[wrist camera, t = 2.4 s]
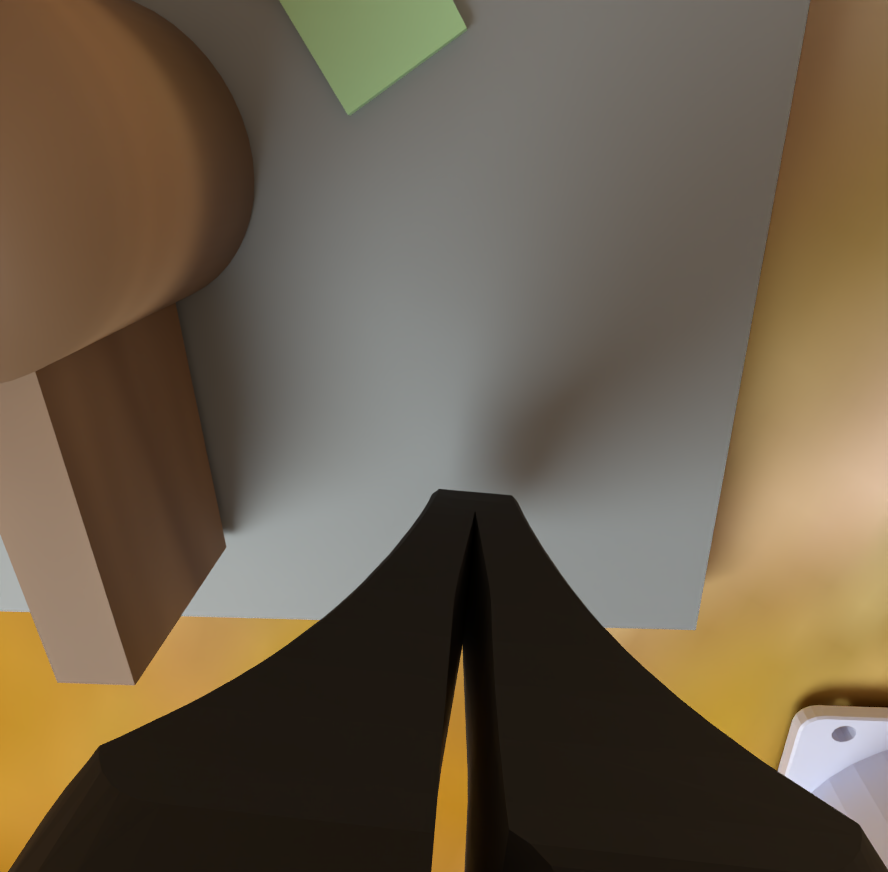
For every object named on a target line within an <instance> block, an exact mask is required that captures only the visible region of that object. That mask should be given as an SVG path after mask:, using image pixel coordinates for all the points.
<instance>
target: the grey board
mask: <svg viewBox="0 0 888 872" xmlns="http://www.w3.org/2000/svg"><path fill="white" fill-rule="evenodd" d="M132 1H134V2H136V3H138V4H140V5H142V6H144V7H146V8H148V9H150V10H152V11H154V12H156V13H157V14H159V15H160V16H162V17H163V18H165V19H166V20H168V21H169V22H171V23H172V24H174V25H175V26H176V27H177V28H178V29H179V30H180V31H182V32H183V33H184V34H185V35H186V36H187V37H189V38H190V39H191V40H192V41H193V42H194V43H195V44H196V46H197V47H198V48H199V49H200V50H201V51H202V52H203V53H204V54H205V55H206V56H207V58H208V59H209V60H210V62H211V63H212V64H213V66H214V67H215V69H216V70H217V71H218V73H219V74H220V75H221V77H222V79H223V80H224V82H225V84H226V86H227V87H228V89H229V91H230V92H231V94H232V96H233V98H234V100H235V103H236V105H237V107H238V109H239V112H240V114H241V116H242V119H243V122H244V125H245V129H246V132H247V135H248V138H249V143H250V148H251V153H252V158H253V169H254V200H253V206H252V212H251V218H250V221H249V224H248V228H247V231H246V234H245V237H244V239H243V241H242V243H241V245H240V247H239V249H238V251H237V253H236V254H235V256H234V257H233V259H232V260H231V262H230V263H229V265H228V266H227V267H226V268H225V269H224V270H223V271H222V273H221V274H220V275H219V276H218V277H217V278H215V279H214V280H213V281H212V282H211V283H209V284H208V285H207V286H206V287H204V288H202V289H200V290H199V291H197V292H195V293H194V294H192V295H190V296H188V297H186V298H184V299H182V300H180V301H178V302H176V308H177V312H178V317H179V322H180V327H181V331H182V336H183V341H184V346H185V351H186V355H187V360H188V365H189V370H190V375H191V379H192V384H193V389H194V394H195V399H196V403H197V408H198V413H199V418H200V423H201V427H202V432H203V437H204V442H205V446H206V451H207V456H208V461H209V466H210V470H211V475H212V480H213V485H214V490H215V494H216V499H217V504H218V509H219V514H220V518H221V523H222V528H223V533H224V538H225V542H226V549H225V550H224V552H223V553H222V555H221V556H220V558H219V559H218V561H217V562H216V564H215V565H214V567H213V568H212V570H211V571H210V573H209V574H208V576H207V577H206V579H205V580H204V582H203V583H202V585H201V586H200V588H199V589H198V591H197V592H196V594H195V596H194V597H193V599H192V600H191V602H190V603H189V605H188V606H187V608H186V609H185V611H184V612H183V614H182V615H181V616H198V617H235V618H272V619H309V620H321V619H322V618H323V617H325V616H326V615H327V614H328V613H329V612H330V611H332V610H333V609H334V608H335V607H336V606H338V605H339V604H340V603H341V602H342V601H343V600H344V599H345V598H347V597H348V596H349V595H350V594H351V593H352V592H353V591H354V590H355V589H356V588H357V587H358V586H359V585H360V584H361V583H362V582H363V581H364V580H365V579H366V578H367V577H368V576H369V575H370V574H371V573H372V572H373V571H374V570H375V569H376V568H377V567H378V566H379V565H380V563H381V562H382V561H383V560H384V559H385V558H386V557H387V556H388V555H389V554H390V553H391V551H392V550H393V549H394V548H395V547H396V545H397V544H398V543H399V542H400V540H401V539H402V538H403V537H404V535H405V534H406V533H407V532H408V531H409V529H410V528H411V527H412V525H413V524H414V522H415V521H416V520H417V518H418V517H419V515H420V514H421V512H422V511H423V509H424V508H425V506H426V505H427V503H428V501H429V499H430V497H431V495H432V494H433V493H434V492H436V491H437V490H438V489H447V490H458V491H470V492H481V493H493V494H504V495H512V496H513V497H514V498H515V499H516V500H517V502H518V504H519V506H520V508H521V510H522V512H523V514H524V516H525V518H526V520H527V521H528V523H529V525H530V527H531V528H532V530H533V532H534V533H535V535H536V537H537V539H538V540H539V542H540V543H541V545H542V547H543V548H544V550H545V551H546V553H547V554H548V556H549V557H550V559H551V560H552V562H553V563H554V564H555V566H556V567H557V569H558V570H559V572H560V573H561V575H562V576H563V577H564V579H565V580H566V581H567V583H568V584H569V586H570V587H571V588H572V590H573V591H574V592H575V593H576V595H577V596H578V597H579V598H580V600H581V601H582V602H583V603H584V605H585V606H586V607H587V608H588V610H589V611H590V612H591V613H592V614H593V616H594V617H595V618H596V619H597V620H598V621H599V622H600V624H601V625H602V626H603V627H605V628H642V629H679V630H696V625H697V619H698V614H699V608H700V603H701V597H702V592H703V586H704V581H705V575H706V570H707V564H708V559H709V553H710V548H711V542H712V537H713V531H714V526H715V520H716V515H717V509H718V504H719V498H720V493H721V487H722V482H723V477H724V471H725V466H726V460H727V455H728V449H729V444H730V438H731V433H732V427H733V422H734V416H735V411H736V405H737V400H738V394H739V389H740V383H741V378H742V372H743V367H744V361H745V356H746V350H747V345H748V339H749V334H750V329H751V323H752V318H753V312H754V307H755V301H756V296H757V290H758V285H759V279H760V274H761V268H762V263H763V257H764V252H765V246H766V241H767V235H768V230H769V224H770V219H771V213H772V208H773V202H774V197H775V191H776V186H777V181H778V175H779V170H780V164H781V159H782V153H783V148H784V142H785V137H786V131H787V126H788V120H789V115H790V109H791V104H792V98H793V93H794V87H795V82H796V76H797V71H798V65H799V60H800V54H801V49H802V44H803V38H804V33H805V27H806V22H807V16H808V11H809V5H810V0H453V2H454V4H455V6H456V8H457V10H458V12H459V14H460V15H461V17H462V19H463V21H464V23H465V25H466V27H467V31H466V32H464V33H463V34H461V35H460V36H459V37H457V38H456V39H455V40H453V41H452V42H450V43H449V44H448V45H446V46H445V47H444V48H442V49H441V50H440V51H438V52H437V53H435V54H434V55H433V56H431V57H430V58H429V59H427V60H426V61H425V62H423V63H422V64H420V65H419V66H418V67H416V68H415V69H414V70H412V71H411V72H409V73H408V74H407V75H405V76H404V77H403V78H401V79H400V80H399V81H397V82H396V83H394V84H393V85H392V86H390V87H389V88H388V89H386V90H385V91H383V92H382V93H381V94H379V95H378V96H377V97H375V98H374V99H373V100H371V101H370V102H368V103H367V104H366V105H364V106H363V107H362V108H360V109H359V110H357V111H356V112H355V113H353V114H352V115H348V114H347V113H346V111H345V109H344V108H343V106H342V104H341V103H340V101H339V99H338V98H337V96H336V94H335V93H334V91H333V89H332V88H331V86H330V84H329V83H328V81H327V79H326V78H325V76H324V74H323V73H322V71H321V69H320V68H319V66H318V64H317V63H316V61H315V59H314V58H313V56H312V54H311V53H310V51H309V49H308V48H307V46H306V44H305V43H304V41H303V39H302V38H301V36H300V34H299V33H298V31H297V29H296V28H295V26H294V24H293V23H292V21H291V19H290V18H289V16H288V14H287V13H286V11H285V9H284V8H283V6H282V4H281V3H280V1H279V0H132ZM0 611H13V612H30V610H29V608H28V605H27V602H26V600H25V597H24V595H23V592H22V589H21V587H20V584H19V582H18V579H17V577H16V574H15V571H14V569H13V566H12V564H11V561H10V559H9V556H8V553H7V551H6V548H5V546H4V543H3V540H2V538H1V535H0Z"/></svg>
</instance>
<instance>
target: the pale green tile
mask: <svg viewBox="0 0 888 872" xmlns="http://www.w3.org/2000/svg"><path fill="white" fill-rule="evenodd" d="M279 1H280V3H281V4H282V6H283V8H284V9H285V11H286V13H287V14H288V16H289V18H290V19H291V21H292V23H293V24H294V26H295V28H296V29H297V31H298V33H299V34H300V36H301V38H302V39H303V41H304V43H305V44H306V46H307V48H308V49H309V51H310V53H311V54H312V56H313V58H314V59H315V61H316V63H317V64H318V66H319V68H320V69H321V71H322V73H323V74H324V76H325V78H326V79H327V81H328V83H329V84H330V86H331V88H332V89H333V91H334V93H335V94H336V96H337V98H338V99H339V101H340V103H341V104H342V106H343V108H344V109H345V111H346V113H347V114H348V115H352V114H353V113H355V112H356V111H357V110H359V109H360V108H362V107H363V106H364V105H366V104H367V103H368V102H370V101H371V100H373V99H374V98H375V97H377V96H378V95H379V94H381V93H382V92H383V91H385V90H386V89H388V88H389V87H390V86H392V85H393V84H394V83H396V82H397V81H399V80H400V79H401V78H403V77H404V76H405V75H407V74H408V73H409V72H411V71H412V70H414V69H415V68H416V67H418V66H419V65H420V64H422V63H423V62H425V61H426V60H427V59H429V58H430V57H431V56H433V55H434V54H435V53H437V52H438V51H440V50H441V49H442V48H444V47H445V46H446V45H448V44H449V43H450V42H452V41H453V40H455V39H456V38H457V37H459V36H460V35H461V34H463V33H464V32H466V31H467V27H466V25H465V23H464V21H463V19H462V17H461V15H460V14H459V12H458V10H457V8H456V6H455V4H454V2H453V0H279Z"/></svg>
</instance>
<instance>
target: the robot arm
mask: <svg viewBox="0 0 888 872" xmlns="http://www.w3.org/2000/svg"><path fill="white" fill-rule="evenodd" d="M462 644H463V668H464V693H465V717H466V740H467V764H468V810H467V831H466V852H465V872H888V708H886V707H857V706H829V705H813V706H808V707H805V708H803V709H801V710H800V711H799V712H797V713H796V715H795V716H794V718H793V720H792V723H791V726H790V730H789V733H788V737H787V740H786V744H785V747H784V751H783V754H782V758H781V761H780V765H779V768H778V771H776V770H775V769H773V768H772V767H770V766H769V765H767V764H766V763H764V762H763V761H761V760H760V759H758V758H757V757H756V756H754V755H753V754H751V753H750V752H749V751H747V750H746V749H745V748H743V747H742V746H741V745H739V744H738V743H737V742H735V741H734V740H733V739H731V738H730V737H728V736H727V735H726V734H724V733H723V732H722V731H720V730H719V729H718V728H716V727H715V726H714V725H712V724H711V723H710V722H708V721H707V720H706V719H704V718H703V717H702V716H701V715H699V714H698V713H697V712H696V711H694V710H693V709H692V708H691V707H689V706H688V705H687V704H686V703H684V702H683V701H682V700H681V699H680V698H678V697H677V696H676V695H675V694H674V693H673V692H671V691H670V690H669V689H668V688H667V687H666V686H665V685H663V684H662V683H661V682H660V681H659V680H658V679H657V678H655V677H654V676H653V675H652V674H651V673H650V672H649V671H647V670H646V669H645V668H644V667H643V666H642V665H641V664H640V663H639V662H638V661H637V660H636V659H635V658H633V657H632V656H631V655H630V654H629V653H628V652H627V651H626V650H625V649H624V648H623V647H622V646H621V645H620V644H619V643H618V642H617V641H616V639H615V638H614V637H613V636H612V635H611V634H610V633H609V632H608V631H607V630H606V629H605V628H604V627H603V626H602V625H601V624H600V622H599V621H598V620H597V619H596V618H595V617H594V616H593V614H592V613H591V612H590V611H589V610H588V608H587V607H586V606H585V605H584V603H583V602H582V601H581V600H580V598H579V597H578V596H577V595H576V593H575V592H574V591H573V590H572V588H571V587H570V586H569V584H568V583H567V581H566V580H565V579H564V577H563V576H562V575H561V573H560V572H559V570H558V569H557V567H556V566H555V564H554V563H553V562H552V560H551V559H550V557H549V556H548V554H547V553H546V551H545V550H544V548H543V547H542V545H541V543H540V542H539V540H538V539H537V537H536V535H535V533H534V532H533V530H532V528H531V527H530V525H529V523H528V521H527V520H526V518H525V516H524V514H523V512H522V510H521V508H520V506H519V504H518V502H517V500H516V499H515V498H514V497H513V496H512V495H504V494H493V493H481V492H470V491H458V490H447V489H438V490H437V491H436V492H434V493H433V494H432V495H431V497H430V499H429V501H428V503H427V505H426V506H425V508H424V509H423V511H422V512H421V514H420V515H419V517H418V518H417V520H416V521H415V522H414V524H413V525H412V527H411V528H410V529H409V531H408V532H407V533H406V534H405V535H404V537H403V538H402V539H401V540H400V542H399V543H398V544H397V545H396V547H395V548H394V549H393V550H392V551H391V553H390V554H389V555H388V556H387V557H386V558H385V559H384V560H383V561H382V562H381V563H380V565H379V566H378V567H377V568H376V569H375V570H374V571H373V572H372V573H371V574H370V575H369V576H368V577H367V578H366V579H365V580H364V581H363V582H362V583H361V584H360V585H359V586H358V587H357V588H356V589H355V590H354V591H353V592H352V593H351V594H350V595H349V596H348V597H347V598H345V599H344V600H343V601H342V602H341V603H340V604H339V605H338V606H336V607H335V608H334V609H333V610H332V611H330V612H329V613H328V614H327V615H326V616H325V617H323V618H322V619H321V620H320V621H318V622H317V623H316V624H314V625H313V626H312V627H310V628H309V629H308V630H306V631H305V632H304V633H302V634H301V635H300V636H298V637H297V638H296V639H294V640H293V641H292V642H291V643H289V644H288V645H286V646H285V647H284V648H282V649H281V650H279V651H278V652H276V653H275V654H273V655H272V656H270V657H269V658H267V659H266V660H264V661H263V662H261V663H260V664H258V665H256V666H255V667H253V668H251V669H250V670H248V671H246V672H245V673H243V674H241V675H240V676H238V677H237V678H235V679H233V680H231V681H230V682H228V683H226V684H224V685H222V686H221V687H219V688H217V689H215V690H214V691H212V692H210V693H208V694H206V695H205V696H203V697H201V698H199V699H197V700H195V701H193V702H191V703H189V704H187V705H185V706H183V707H181V708H179V709H177V710H175V711H173V712H171V713H169V714H167V715H165V716H162V717H160V718H158V719H156V720H154V721H152V722H150V723H148V724H146V725H144V726H142V727H140V728H137V729H135V730H133V731H131V732H129V733H127V734H125V735H123V736H121V737H119V738H116V739H114V740H112V741H109V742H107V743H105V744H103V745H100V746H99V747H98V748H97V750H96V751H95V752H94V754H93V755H92V757H91V758H90V759H89V761H88V762H87V763H86V764H85V765H84V767H83V768H82V769H81V770H80V771H79V773H78V774H77V775H76V776H75V777H74V779H73V780H72V781H71V782H70V783H69V785H68V786H67V787H66V788H65V790H64V791H63V792H62V794H61V795H60V796H59V798H58V799H57V800H56V802H55V803H54V805H53V806H52V807H51V809H50V810H49V811H48V813H47V814H46V816H45V817H44V819H43V820H42V822H41V823H40V825H39V826H38V828H37V829H36V831H35V832H34V834H33V835H32V837H31V838H30V840H29V841H28V843H27V844H26V846H25V847H24V849H23V850H22V852H21V853H20V855H19V856H18V858H17V859H16V861H15V862H14V864H13V865H12V867H11V868H10V870H9V871H8V872H431V867H432V855H433V843H434V831H435V819H436V807H437V796H438V789H439V781H440V774H441V767H442V761H443V755H444V749H445V743H446V737H447V732H448V726H449V720H450V714H451V708H452V703H453V697H454V691H455V685H456V679H457V673H458V668H459V662H460V656H461V650H462Z"/></svg>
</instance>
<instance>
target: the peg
mask: <svg viewBox="0 0 888 872" xmlns="http://www.w3.org/2000/svg"><path fill="white" fill-rule="evenodd" d="M253 200H254V169H253V158H252V153H251V148H250V143H249V138H248V135H247V132H246V129H245V125H244V122H243V119H242V116H241V114H240V112H239V109H238V107H237V105H236V103H235V100H234V98H233V96H232V94H231V92H230V91H229V89H228V87H227V86H226V84H225V82H224V80H223V79H222V77H221V75H220V74H219V73H218V71H217V70H216V69H215V67H214V66H213V64H212V63H211V62H210V60H209V59H208V58H207V56H206V55H205V54H204V53H203V52H202V51H201V50H200V49H199V48H198V47H197V46H196V44H195V43H194V42H193V41H192V40H191V39H190V38H189V37H187V36H186V35H185V34H184V33H183V32H182V31H180V30H179V29H178V28H177V27H176V26H175V25H174V24H172V23H171V22H169V21H168V20H166V19H165V18H163V17H162V16H160V15H159V14H157V13H156V12H154V11H152V10H150V9H148V8H146V7H144V6H142V5H140V4H138V3H136V2H134V1H132V0H0V535H1V538H2V540H3V543H4V546H5V548H6V551H7V553H8V556H9V559H10V561H11V564H12V566H13V569H14V571H15V574H16V577H17V579H18V582H19V584H20V587H21V589H22V592H23V595H24V597H25V600H26V602H27V605H28V608H29V610H30V613H31V615H32V618H33V620H34V623H35V626H36V628H37V631H38V633H39V636H40V638H41V641H42V644H43V646H44V649H45V651H46V654H47V657H48V659H49V662H50V664H51V667H52V669H53V672H54V675H55V677H56V680H57V682H58V683H85V684H113V685H135V684H136V683H137V681H138V680H139V678H140V677H141V675H142V674H143V672H144V671H145V669H146V668H147V666H148V665H149V663H150V662H151V660H152V659H153V657H154V656H155V654H156V653H157V651H158V650H159V648H160V647H161V645H162V644H163V642H164V641H165V639H166V638H167V636H168V635H169V633H170V632H171V630H172V629H173V627H174V626H175V624H176V623H177V621H178V620H179V618H180V617H181V615H182V614H183V612H184V611H185V609H186V608H187V606H188V605H189V603H190V602H191V600H192V599H193V597H194V596H195V594H196V592H197V591H198V589H199V588H200V586H201V585H202V583H203V582H204V580H205V579H206V577H207V576H208V574H209V573H210V571H211V570H212V568H213V567H214V565H215V564H216V562H217V561H218V559H219V558H220V556H221V555H222V553H223V552H224V550H225V549H226V542H225V538H224V533H223V528H222V523H221V518H220V514H219V509H218V504H217V499H216V494H215V490H214V485H213V480H212V475H211V470H210V466H209V461H208V456H207V451H206V446H205V442H204V437H203V432H202V427H201V423H200V418H199V413H198V408H197V403H196V399H195V394H194V389H193V384H192V379H191V375H190V370H189V365H188V360H187V355H186V351H185V346H184V341H183V336H182V331H181V327H180V322H179V317H178V312H177V308H176V302H178V301H180V300H182V299H184V298H186V297H188V296H190V295H192V294H194V293H195V292H197V291H199V290H200V289H202V288H204V287H206V286H207V285H208V284H209V283H211V282H212V281H213V280H214V279H215V278H217V277H218V276H219V275H220V274H221V273H222V271H223V270H224V269H225V268H226V267H227V266H228V265H229V263H230V262H231V260H232V259H233V257H234V256H235V254H236V253H237V251H238V249H239V247H240V245H241V243H242V241H243V239H244V237H245V234H246V231H247V228H248V224H249V221H250V218H251V212H252V206H253Z"/></svg>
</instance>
